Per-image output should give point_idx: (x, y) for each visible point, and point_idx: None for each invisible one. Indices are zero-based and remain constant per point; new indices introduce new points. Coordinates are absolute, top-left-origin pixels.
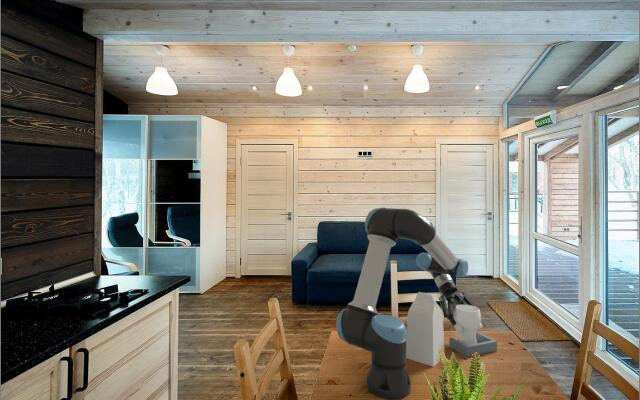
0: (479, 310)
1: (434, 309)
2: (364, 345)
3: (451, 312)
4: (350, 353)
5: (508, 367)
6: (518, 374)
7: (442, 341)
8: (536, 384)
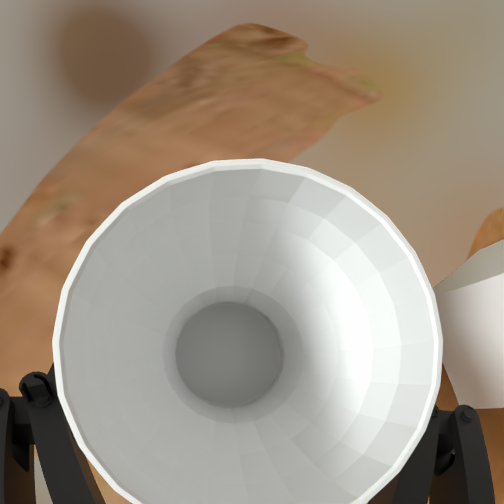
0: (142, 192)
1: None
2: None
3: (426, 438)
4: None
5: (237, 118)
6: (250, 84)
7: (477, 276)
8: (254, 48)
